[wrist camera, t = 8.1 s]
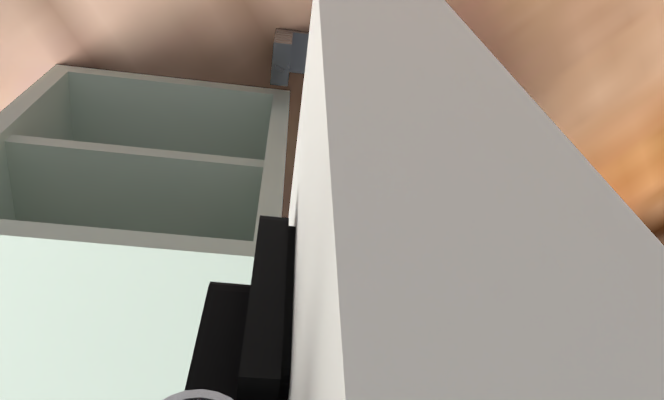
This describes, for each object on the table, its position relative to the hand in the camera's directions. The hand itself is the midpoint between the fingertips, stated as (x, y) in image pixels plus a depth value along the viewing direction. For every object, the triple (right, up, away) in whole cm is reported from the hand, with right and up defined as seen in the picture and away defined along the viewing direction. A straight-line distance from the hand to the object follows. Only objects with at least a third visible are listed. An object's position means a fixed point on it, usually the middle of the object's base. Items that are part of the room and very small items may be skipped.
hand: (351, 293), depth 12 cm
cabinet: (-11, +5, +28) cm, 30 cm away
